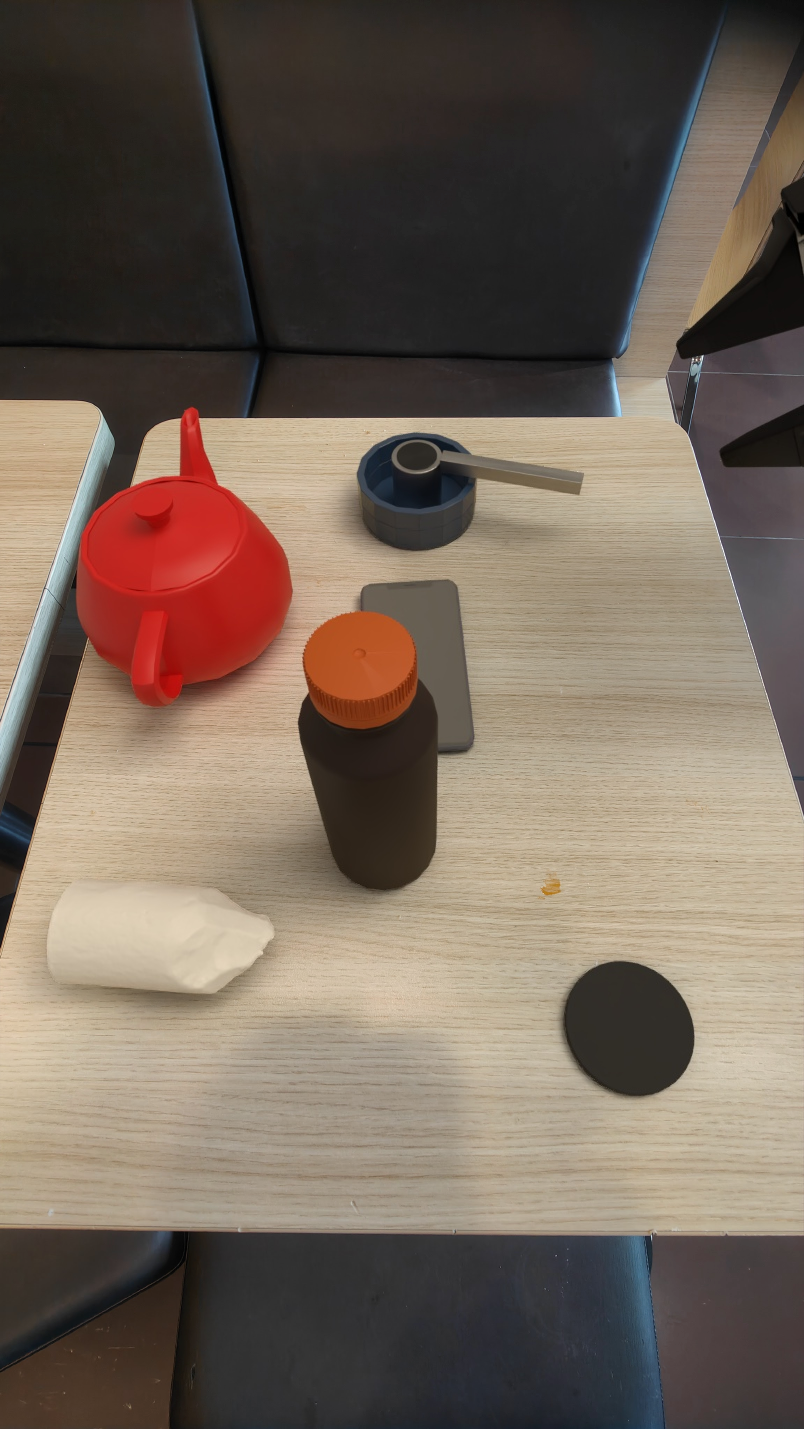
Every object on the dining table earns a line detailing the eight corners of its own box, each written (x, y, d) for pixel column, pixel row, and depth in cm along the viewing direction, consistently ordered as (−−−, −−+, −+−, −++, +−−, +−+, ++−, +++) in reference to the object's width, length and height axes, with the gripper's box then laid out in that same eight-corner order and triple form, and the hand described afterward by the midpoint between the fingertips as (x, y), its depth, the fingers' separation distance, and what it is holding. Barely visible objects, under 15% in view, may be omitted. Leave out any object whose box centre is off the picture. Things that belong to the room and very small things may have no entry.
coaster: (662, 951, 46) (664, 948, 45) (713, 1078, 42) (716, 1077, 42) (547, 978, 45) (548, 976, 45) (589, 1110, 42) (591, 1109, 41)
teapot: (287, 750, 54) (254, 642, 44) (64, 754, 54) (-21, 648, 44) (309, 498, 67) (287, 370, 57) (130, 503, 68) (77, 376, 57)
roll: (275, 1009, 45) (256, 986, 40) (72, 994, 46) (31, 969, 41) (291, 907, 48) (275, 874, 43) (101, 894, 49) (66, 860, 44)
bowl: (458, 462, 69) (459, 424, 66) (488, 538, 64) (491, 501, 61) (351, 481, 68) (347, 443, 65) (373, 559, 63) (370, 523, 60)
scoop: (575, 514, 65) (587, 460, 60) (567, 548, 63) (578, 495, 58) (401, 484, 67) (399, 430, 63) (388, 516, 65) (385, 463, 61)
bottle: (456, 827, 50) (469, 634, 34) (397, 913, 48) (379, 749, 31) (371, 777, 53) (342, 571, 36) (309, 856, 50) (246, 673, 33)
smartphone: (364, 752, 53) (359, 582, 60) (365, 759, 53) (360, 590, 61) (476, 745, 53) (457, 576, 60) (475, 752, 53) (456, 585, 61)
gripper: (954, -33, 35) (615, 180, 41) (1206, 161, 25) (706, 402, 31) (956, 197, 43) (673, 344, 49) (1147, 414, 33) (759, 562, 39)
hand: (698, 402), depth 42 cm, fingers open, 9 cm apart
